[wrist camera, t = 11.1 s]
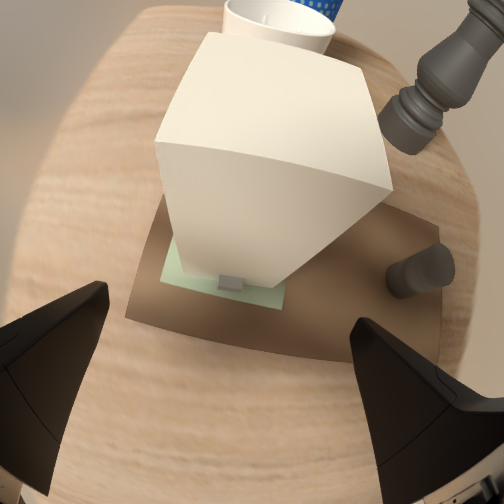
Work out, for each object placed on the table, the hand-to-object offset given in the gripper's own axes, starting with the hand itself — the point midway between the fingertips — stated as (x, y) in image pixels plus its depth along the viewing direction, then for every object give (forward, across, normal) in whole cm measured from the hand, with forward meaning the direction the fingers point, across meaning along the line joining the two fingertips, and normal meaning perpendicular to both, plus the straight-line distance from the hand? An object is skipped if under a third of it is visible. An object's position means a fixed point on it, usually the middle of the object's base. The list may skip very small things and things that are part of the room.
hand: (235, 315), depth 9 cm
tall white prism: (+8, 0, +1) cm, 8 cm away
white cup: (+19, 0, -8) cm, 21 cm away
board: (+9, -6, +2) cm, 11 cm away
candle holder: (+21, -16, -10) cm, 28 cm away
